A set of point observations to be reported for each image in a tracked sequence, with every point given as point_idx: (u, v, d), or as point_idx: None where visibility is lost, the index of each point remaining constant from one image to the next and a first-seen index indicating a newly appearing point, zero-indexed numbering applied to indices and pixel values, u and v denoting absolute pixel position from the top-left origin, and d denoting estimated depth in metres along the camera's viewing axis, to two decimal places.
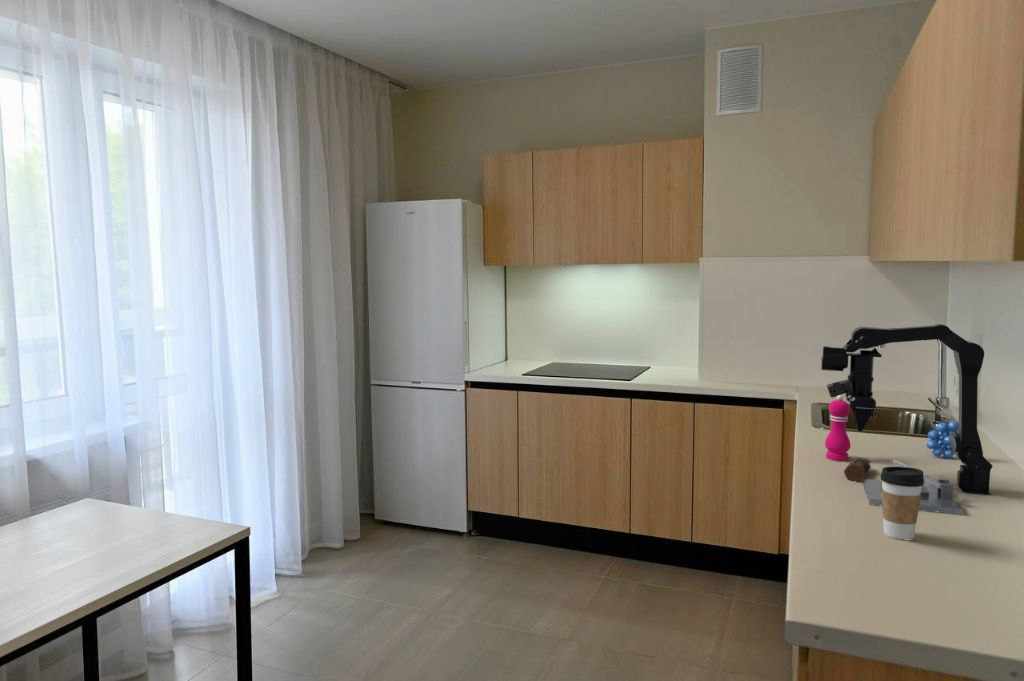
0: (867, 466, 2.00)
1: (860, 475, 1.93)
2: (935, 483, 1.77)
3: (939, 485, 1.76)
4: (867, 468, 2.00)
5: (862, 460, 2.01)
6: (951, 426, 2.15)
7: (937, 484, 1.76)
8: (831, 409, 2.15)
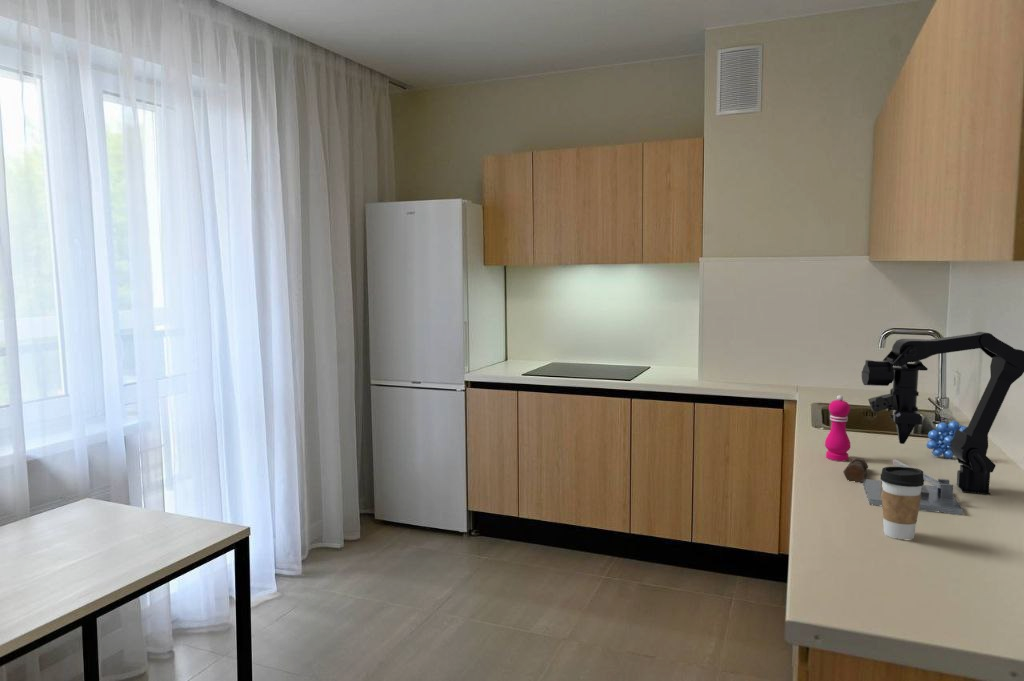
0: (865, 466, 2.01)
1: (860, 475, 1.93)
2: (935, 483, 1.77)
3: (939, 485, 1.76)
4: (865, 468, 2.01)
5: (860, 460, 2.01)
6: (951, 426, 2.15)
7: (937, 484, 1.76)
8: (831, 409, 2.15)
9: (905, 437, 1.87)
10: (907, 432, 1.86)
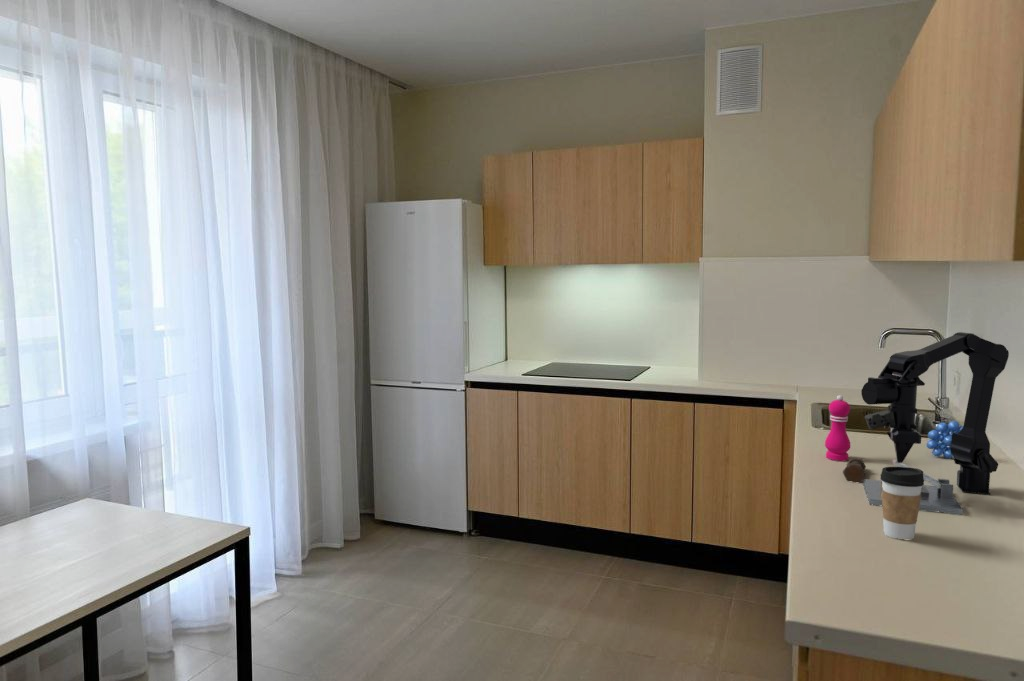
0: (863, 466, 2.01)
1: (859, 475, 1.93)
2: (935, 483, 1.77)
3: (939, 485, 1.76)
4: (863, 468, 2.01)
5: (857, 460, 2.01)
6: (951, 426, 2.15)
7: (937, 484, 1.76)
8: (831, 409, 2.15)
9: (903, 456, 1.79)
10: (905, 451, 1.78)
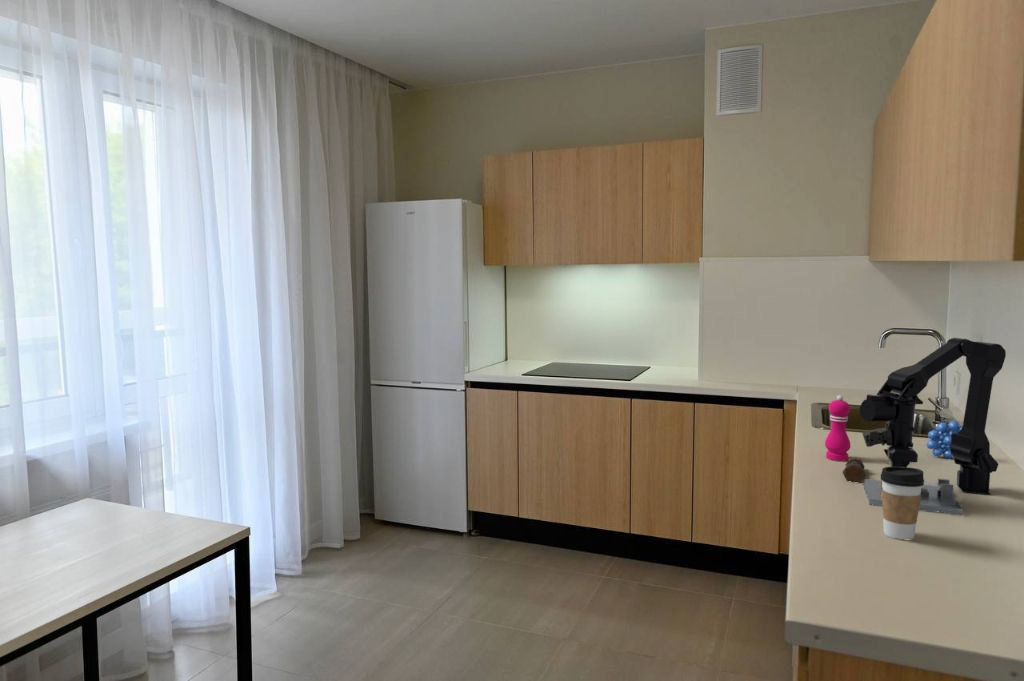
0: (861, 466, 2.01)
1: (859, 475, 1.93)
2: (933, 487, 1.77)
3: (938, 487, 1.76)
4: (861, 468, 2.01)
5: (856, 460, 2.01)
6: (951, 426, 2.15)
7: (936, 487, 1.77)
8: (831, 409, 2.15)
9: None
10: None
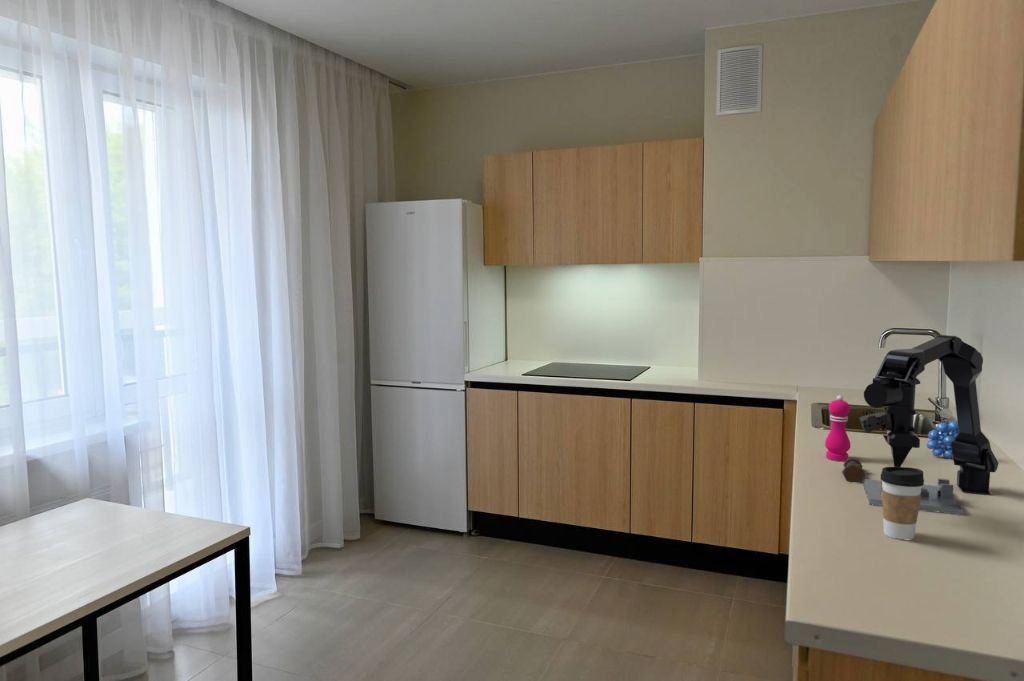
0: (859, 465, 2.01)
1: (859, 475, 1.92)
2: (933, 487, 1.77)
3: (938, 487, 1.76)
4: None
5: (854, 460, 2.01)
6: (951, 426, 2.15)
7: (936, 487, 1.77)
8: (831, 409, 2.15)
9: (900, 461, 1.67)
10: (903, 455, 1.66)
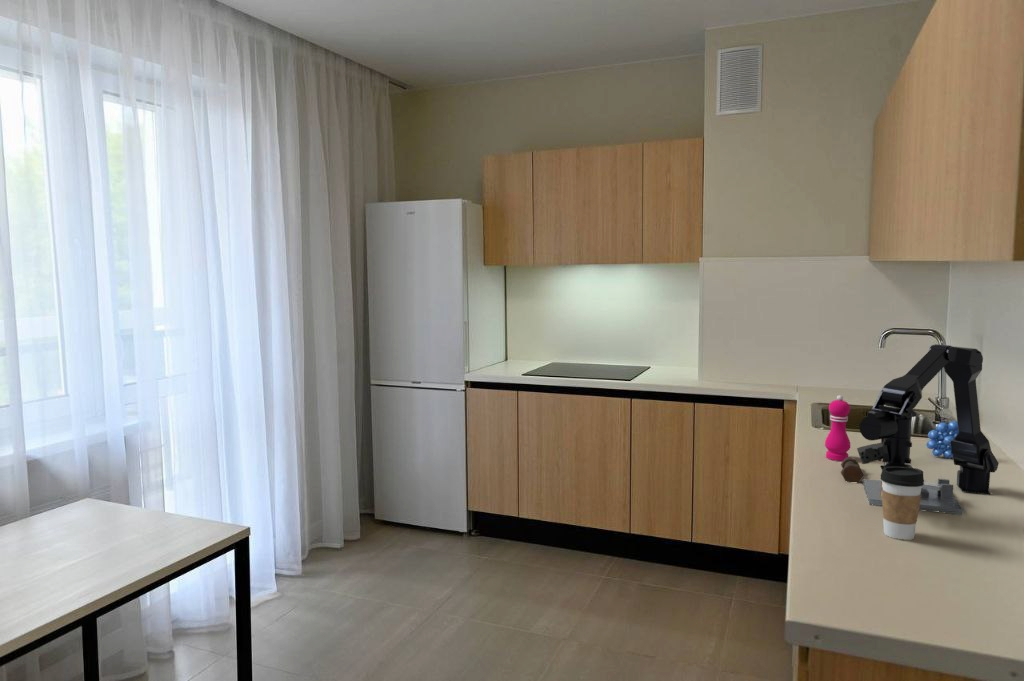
0: None
1: (858, 475, 1.92)
2: (933, 487, 1.77)
3: (938, 487, 1.76)
4: None
5: (852, 460, 2.01)
6: (951, 426, 2.15)
7: (936, 487, 1.77)
8: (831, 409, 2.15)
9: None
10: None
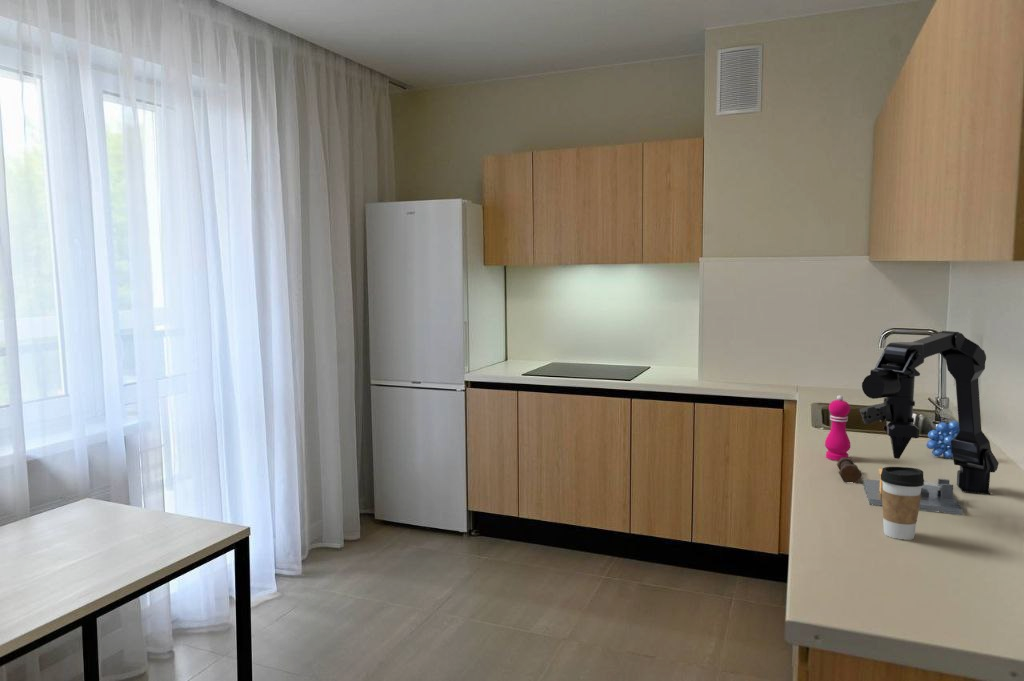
0: None
1: (856, 475, 1.92)
2: (933, 487, 1.77)
3: (938, 487, 1.76)
4: None
5: (848, 460, 2.02)
6: (951, 426, 2.15)
7: (936, 487, 1.77)
8: (831, 409, 2.15)
9: (900, 451, 1.69)
10: (902, 446, 1.68)
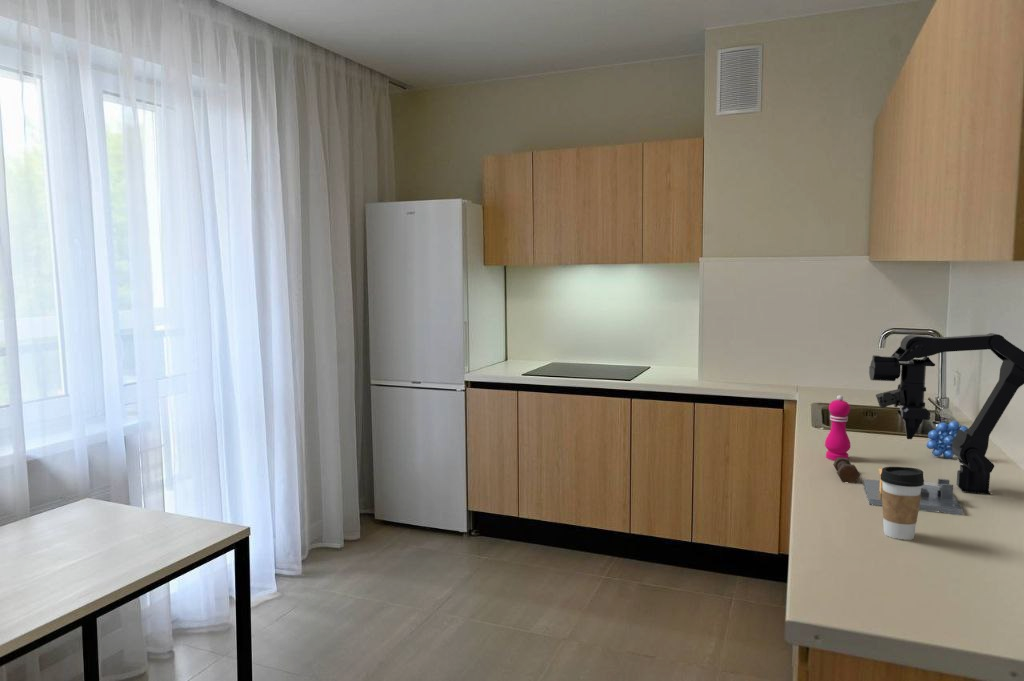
0: None
1: (854, 475, 1.92)
2: (933, 487, 1.77)
3: (938, 487, 1.76)
4: None
5: (845, 460, 2.02)
6: (951, 426, 2.15)
7: (936, 487, 1.77)
8: (831, 409, 2.15)
9: (912, 432, 1.88)
10: (914, 427, 1.87)
